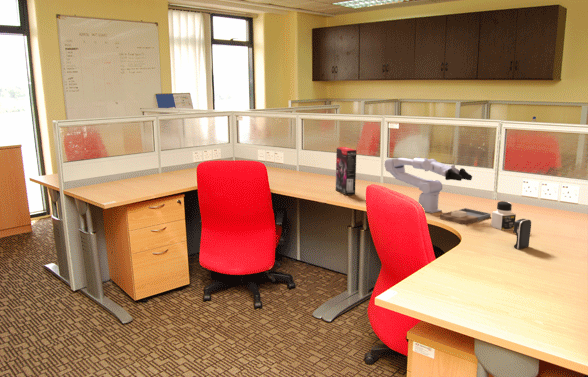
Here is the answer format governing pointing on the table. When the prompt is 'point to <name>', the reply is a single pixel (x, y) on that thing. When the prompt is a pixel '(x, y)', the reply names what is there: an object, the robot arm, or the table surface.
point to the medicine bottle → (503, 216)
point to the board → (463, 220)
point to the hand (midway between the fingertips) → (466, 178)
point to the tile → (458, 213)
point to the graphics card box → (346, 170)
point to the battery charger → (522, 233)
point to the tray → (476, 213)
